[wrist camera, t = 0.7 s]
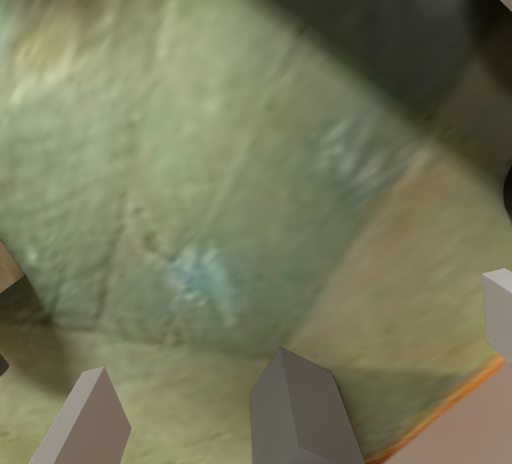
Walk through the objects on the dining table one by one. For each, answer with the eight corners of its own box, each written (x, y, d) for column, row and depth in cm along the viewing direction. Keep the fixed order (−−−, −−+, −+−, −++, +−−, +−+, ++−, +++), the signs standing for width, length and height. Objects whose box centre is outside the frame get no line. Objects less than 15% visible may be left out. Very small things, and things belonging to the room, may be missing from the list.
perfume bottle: (280, 346, 43) (308, 502, 25) (331, 371, 44) (391, 536, 27) (249, 392, 44) (256, 568, 27) (300, 415, 45) (337, 598, 28)
